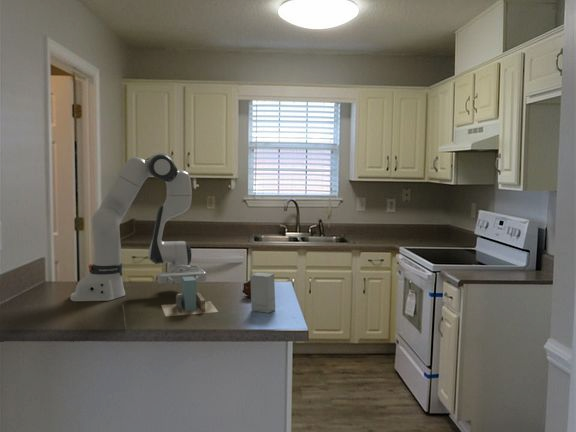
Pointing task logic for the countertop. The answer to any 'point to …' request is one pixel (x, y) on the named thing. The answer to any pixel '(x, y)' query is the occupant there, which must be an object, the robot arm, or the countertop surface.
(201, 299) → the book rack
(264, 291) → the skincare box
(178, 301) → the metal bookend
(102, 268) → the robot arm
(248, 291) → the dragon fruit
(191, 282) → the book
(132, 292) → the countertop surface
